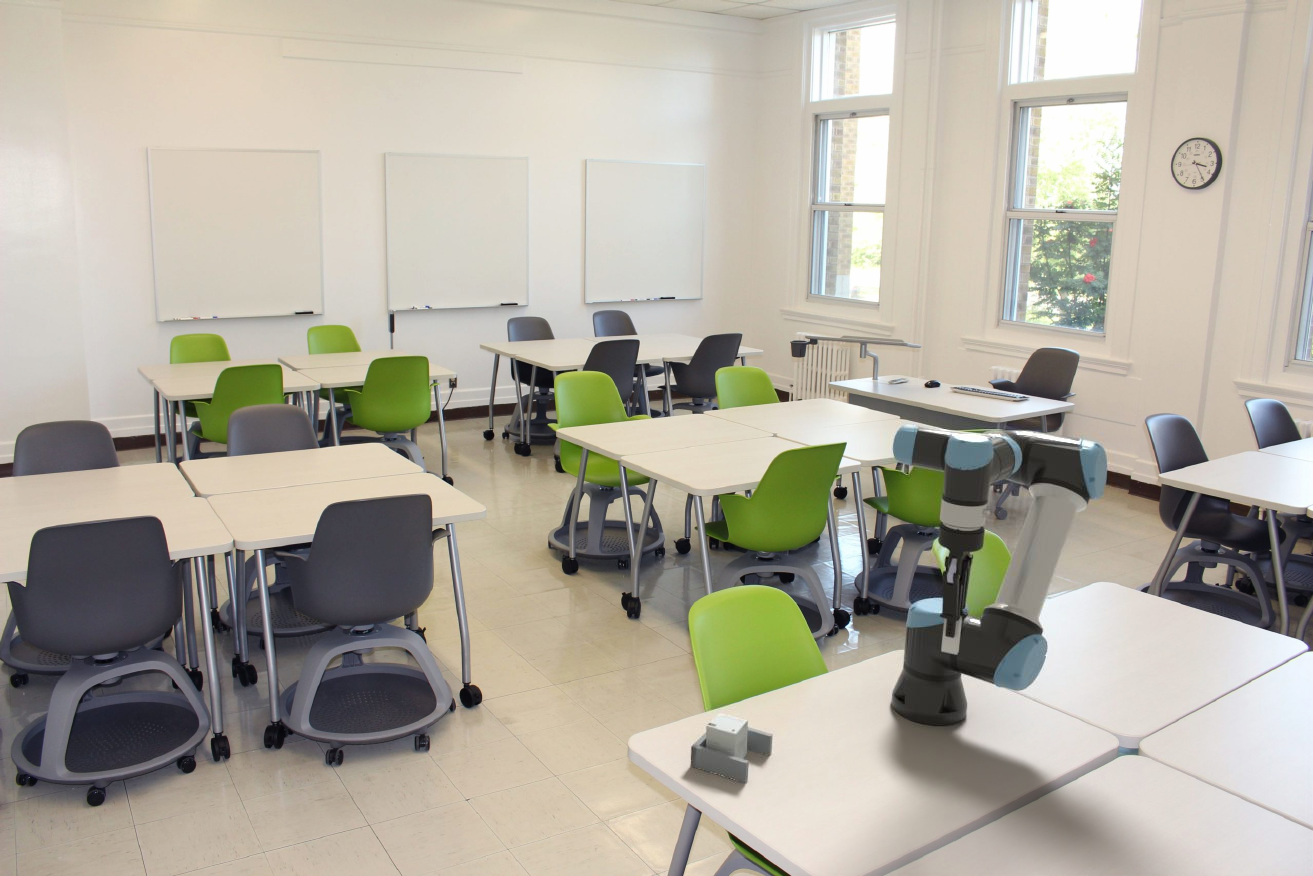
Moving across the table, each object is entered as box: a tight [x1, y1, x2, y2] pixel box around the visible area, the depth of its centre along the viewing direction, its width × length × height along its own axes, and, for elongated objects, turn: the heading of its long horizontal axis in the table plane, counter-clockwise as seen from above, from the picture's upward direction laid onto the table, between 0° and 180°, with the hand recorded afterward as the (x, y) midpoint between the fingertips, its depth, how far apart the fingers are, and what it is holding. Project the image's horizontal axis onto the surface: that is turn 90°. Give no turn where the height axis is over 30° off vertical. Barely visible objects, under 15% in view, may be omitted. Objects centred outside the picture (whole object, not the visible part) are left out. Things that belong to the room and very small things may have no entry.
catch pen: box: [690, 726, 773, 784], centre depth 187 cm, size 12×11×4 cm
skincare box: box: [705, 712, 749, 760], centre depth 187 cm, size 6×6×7 cm
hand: (949, 651), depth 179 cm, fingers closed
